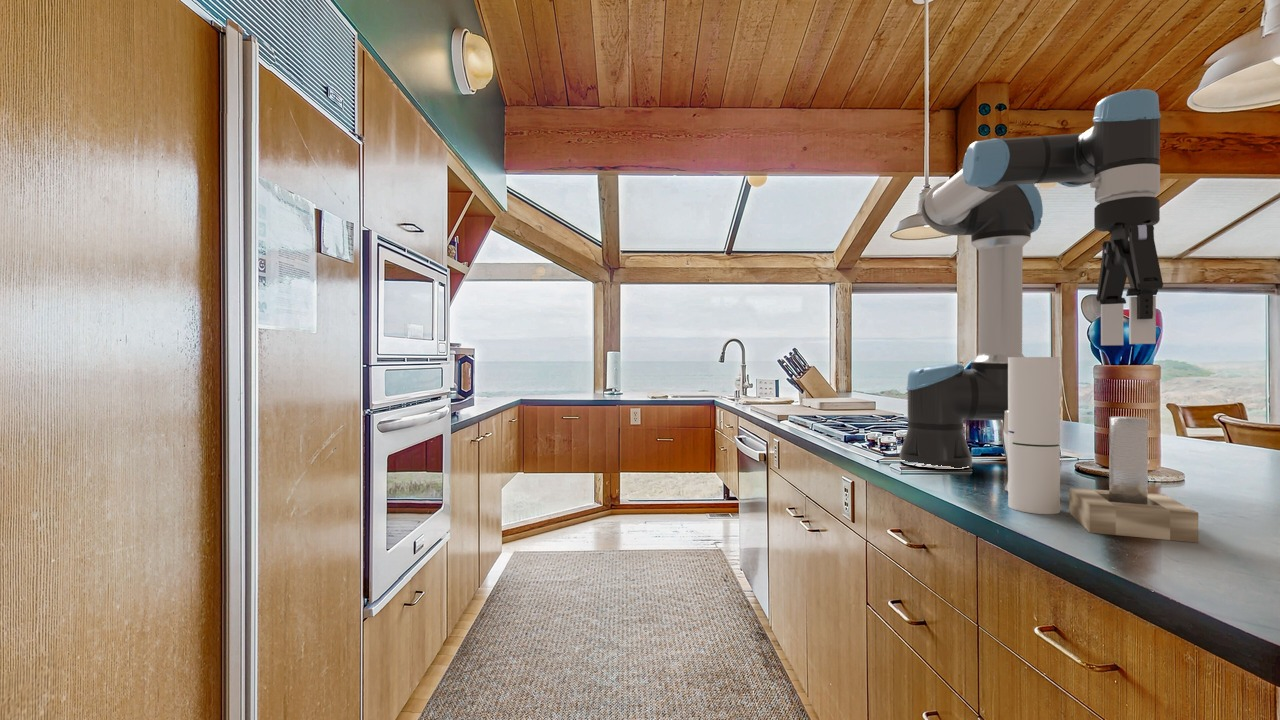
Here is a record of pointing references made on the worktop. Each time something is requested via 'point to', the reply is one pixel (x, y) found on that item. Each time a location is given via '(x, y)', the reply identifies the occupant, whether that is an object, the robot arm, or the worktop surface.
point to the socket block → (1134, 516)
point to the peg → (1128, 460)
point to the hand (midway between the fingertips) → (1126, 344)
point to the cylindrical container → (1034, 434)
